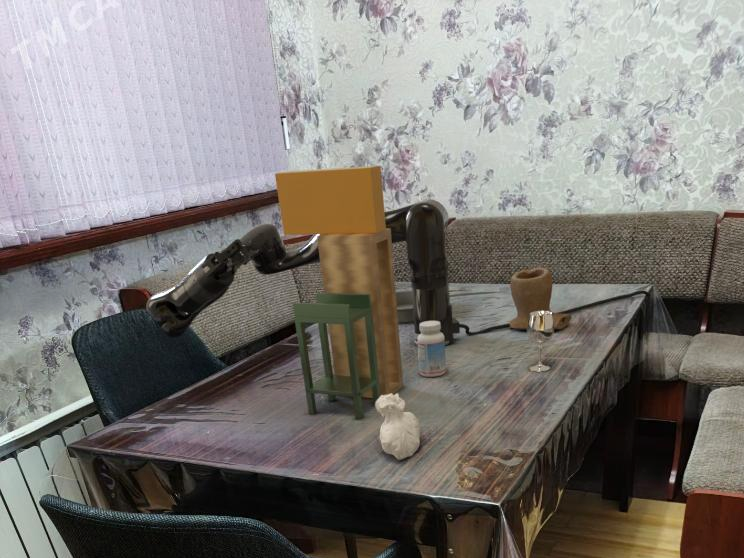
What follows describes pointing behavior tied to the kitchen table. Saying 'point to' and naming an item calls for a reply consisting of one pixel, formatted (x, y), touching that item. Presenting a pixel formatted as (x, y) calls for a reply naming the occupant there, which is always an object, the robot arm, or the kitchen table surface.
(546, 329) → the wineglass
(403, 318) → the cake pan
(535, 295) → the brown clay vessel
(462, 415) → the kitchen table surface
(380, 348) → the tall stand
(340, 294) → the book rack
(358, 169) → the book
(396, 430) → the white tied sack
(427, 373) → the pill bottle
